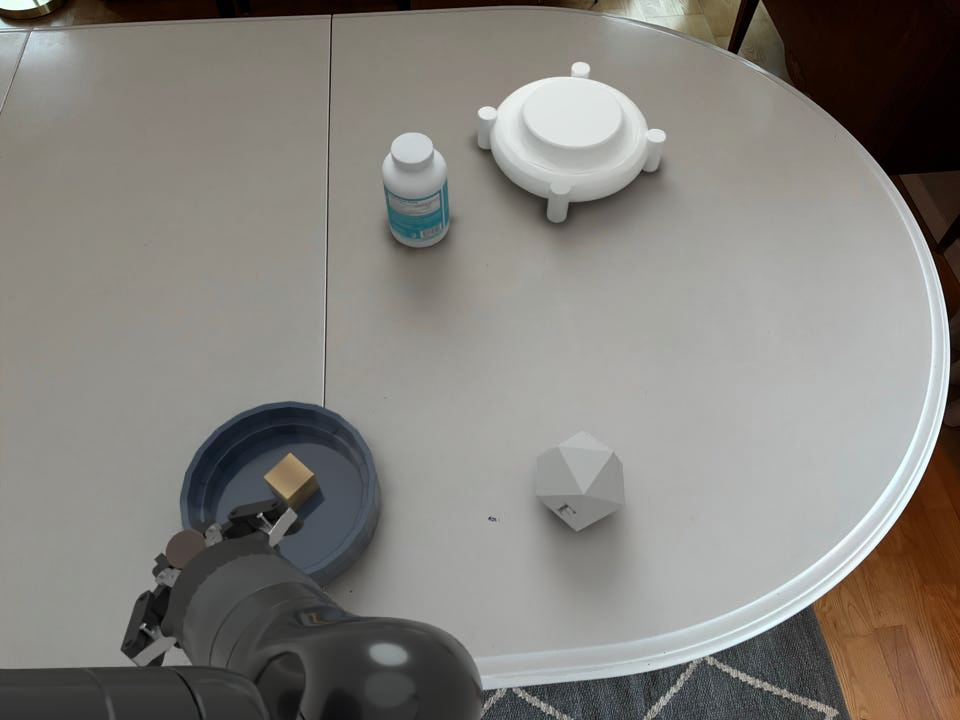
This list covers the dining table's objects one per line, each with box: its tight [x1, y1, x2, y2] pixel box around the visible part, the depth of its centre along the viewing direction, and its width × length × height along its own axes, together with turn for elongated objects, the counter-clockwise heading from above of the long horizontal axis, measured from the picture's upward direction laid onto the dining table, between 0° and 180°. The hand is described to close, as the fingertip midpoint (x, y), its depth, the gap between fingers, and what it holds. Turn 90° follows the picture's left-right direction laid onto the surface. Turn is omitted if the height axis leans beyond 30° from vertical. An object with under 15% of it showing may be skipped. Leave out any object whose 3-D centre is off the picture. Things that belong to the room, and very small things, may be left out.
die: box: [534, 430, 626, 532], centre depth 77 cm, size 8×9×10 cm
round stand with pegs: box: [477, 61, 667, 224], centre depth 102 cm, size 24×24×7 cm
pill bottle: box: [381, 132, 450, 249], centre depth 92 cm, size 8×7×14 cm
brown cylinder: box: [165, 529, 206, 571], centre depth 59 cm, size 3×3×10 cm
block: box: [263, 453, 320, 512], centre depth 78 cm, size 4×4×4 cm
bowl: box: [179, 400, 382, 587], centre depth 78 cm, size 18×19×5 cm
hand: (185, 547), depth 59 cm, fingers closed on brown cylinder, 3 cm apart
